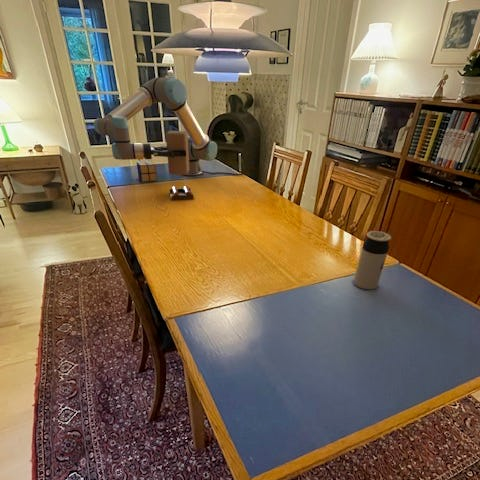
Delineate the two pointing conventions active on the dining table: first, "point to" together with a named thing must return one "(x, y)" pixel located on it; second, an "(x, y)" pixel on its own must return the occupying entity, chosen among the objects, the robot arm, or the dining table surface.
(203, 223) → the dining table surface
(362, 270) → the travel mug
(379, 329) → the dining table surface
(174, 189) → the brown tray
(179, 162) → the block
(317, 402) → the dining table surface
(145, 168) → the puzzle cube
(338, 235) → the dining table surface
